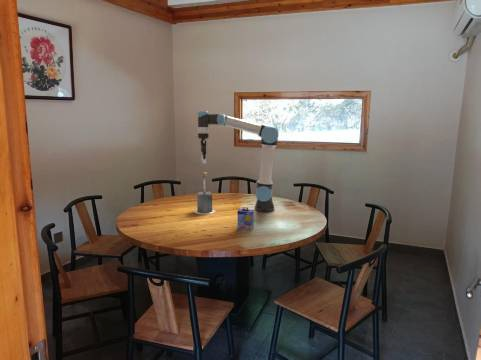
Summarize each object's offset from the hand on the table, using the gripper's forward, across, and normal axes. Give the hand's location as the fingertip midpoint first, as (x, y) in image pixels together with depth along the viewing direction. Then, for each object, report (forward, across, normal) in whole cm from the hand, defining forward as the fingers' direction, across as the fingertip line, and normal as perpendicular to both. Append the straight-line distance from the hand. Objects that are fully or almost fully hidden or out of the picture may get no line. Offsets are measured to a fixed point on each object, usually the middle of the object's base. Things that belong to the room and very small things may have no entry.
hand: (203, 162), depth 269 cm
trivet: (+38, 0, 0) cm, 38 cm away
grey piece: (+37, -1, 0) cm, 37 cm away
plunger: (+27, 0, 0) cm, 27 cm away
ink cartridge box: (+38, +43, +24) cm, 62 cm away
